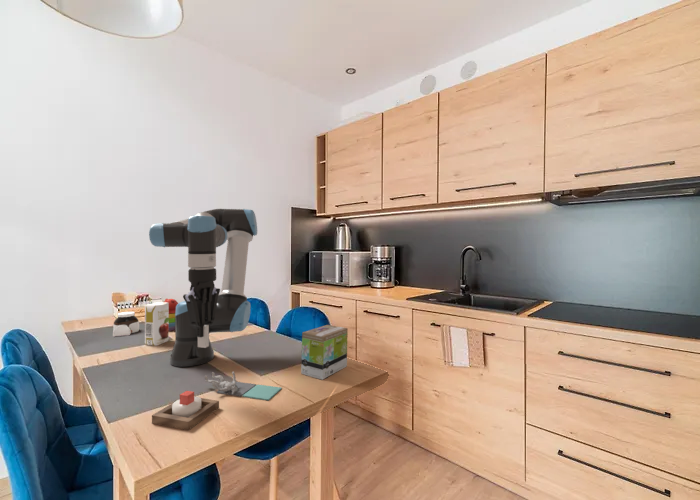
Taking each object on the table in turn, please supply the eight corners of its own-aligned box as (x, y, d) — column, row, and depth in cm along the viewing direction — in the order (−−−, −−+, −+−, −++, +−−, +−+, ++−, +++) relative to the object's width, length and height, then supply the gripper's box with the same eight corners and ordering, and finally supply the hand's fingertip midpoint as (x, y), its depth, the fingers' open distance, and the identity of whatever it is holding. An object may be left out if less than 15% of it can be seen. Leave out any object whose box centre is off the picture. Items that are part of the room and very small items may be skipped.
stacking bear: (186, 332, 164) (186, 298, 164) (166, 337, 156) (166, 300, 156) (174, 329, 170) (174, 296, 170) (154, 334, 161) (154, 299, 161)
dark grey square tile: (216, 393, 96) (216, 391, 96) (233, 382, 103) (233, 381, 103) (241, 396, 93) (241, 395, 93) (256, 385, 101) (256, 384, 101)
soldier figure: (221, 367, 104) (244, 371, 97) (224, 381, 104) (247, 386, 97) (199, 378, 97) (222, 384, 91) (202, 393, 98) (225, 400, 91)
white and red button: (165, 419, 80) (165, 397, 80) (186, 406, 87) (186, 386, 87) (187, 423, 78) (187, 400, 78) (207, 410, 85) (207, 389, 85)
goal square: (242, 396, 93) (242, 395, 93) (257, 385, 101) (257, 384, 101) (268, 400, 91) (268, 399, 91) (281, 388, 99) (281, 387, 99)
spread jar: (134, 333, 163) (134, 310, 163) (144, 336, 156) (144, 313, 156) (106, 338, 153) (106, 314, 153) (115, 342, 147) (115, 317, 147)
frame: (151, 423, 79) (151, 415, 79) (185, 402, 89) (185, 395, 89) (188, 430, 76) (188, 421, 76) (219, 408, 86) (219, 400, 86)
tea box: (323, 380, 105) (323, 336, 105) (300, 374, 110) (300, 332, 110) (348, 366, 118) (348, 326, 118) (326, 361, 123) (326, 323, 123)
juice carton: (141, 348, 138) (141, 304, 138) (156, 342, 146) (156, 301, 146) (157, 349, 137) (157, 305, 137) (171, 343, 145) (171, 302, 145)
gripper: (196, 270, 87) (197, 355, 88) (227, 266, 99) (227, 341, 100) (174, 269, 89) (175, 352, 90) (207, 265, 101) (207, 338, 102)
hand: (203, 346), depth 95 cm, fingers closed
